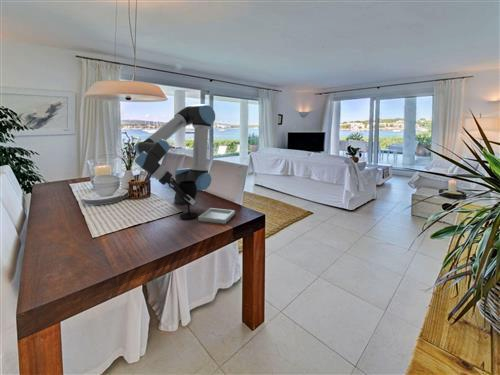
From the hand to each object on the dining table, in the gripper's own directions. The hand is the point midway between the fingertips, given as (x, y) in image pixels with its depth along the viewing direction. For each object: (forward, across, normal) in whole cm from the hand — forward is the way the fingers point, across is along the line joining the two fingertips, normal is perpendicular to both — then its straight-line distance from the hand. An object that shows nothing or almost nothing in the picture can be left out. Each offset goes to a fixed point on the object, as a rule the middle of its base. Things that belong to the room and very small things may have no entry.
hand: (193, 200), depth 143 cm
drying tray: (+16, +6, +2) cm, 17 cm away
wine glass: (+4, 0, -9) cm, 10 cm away
